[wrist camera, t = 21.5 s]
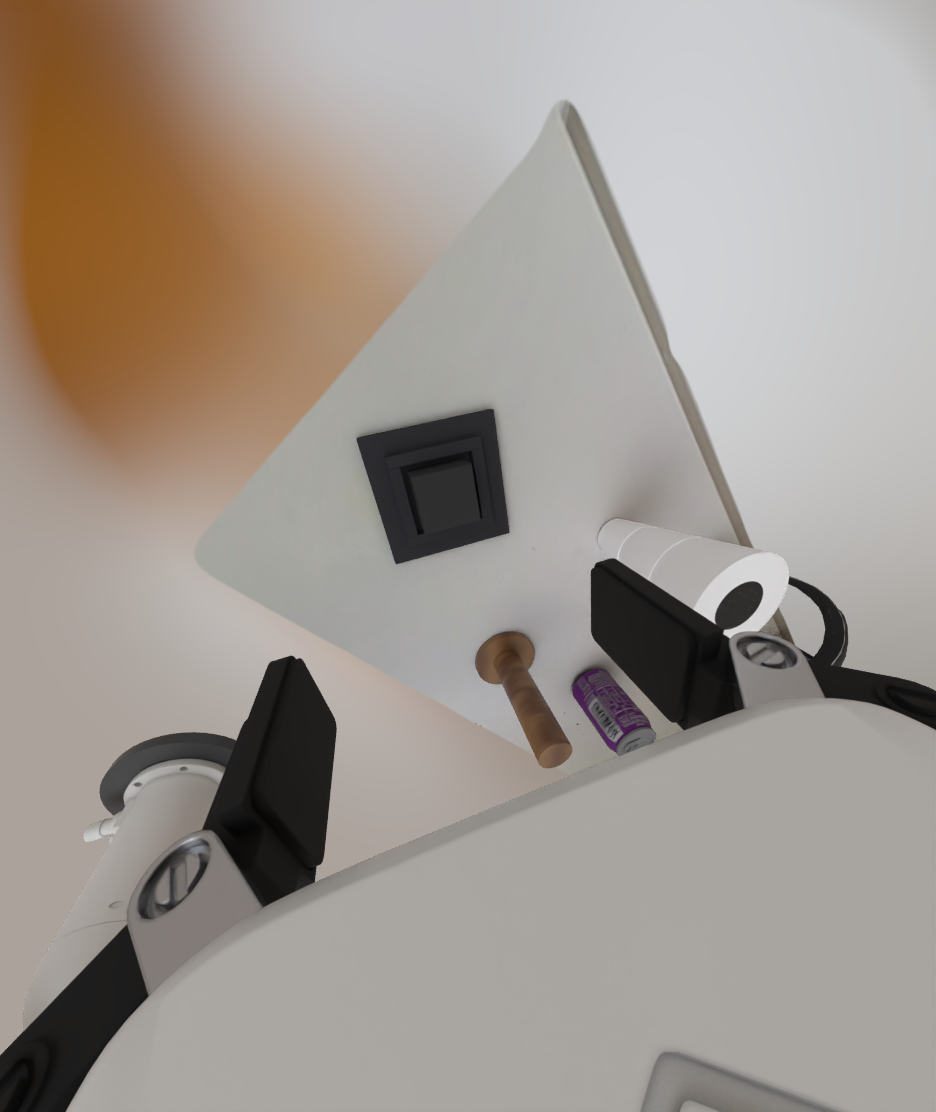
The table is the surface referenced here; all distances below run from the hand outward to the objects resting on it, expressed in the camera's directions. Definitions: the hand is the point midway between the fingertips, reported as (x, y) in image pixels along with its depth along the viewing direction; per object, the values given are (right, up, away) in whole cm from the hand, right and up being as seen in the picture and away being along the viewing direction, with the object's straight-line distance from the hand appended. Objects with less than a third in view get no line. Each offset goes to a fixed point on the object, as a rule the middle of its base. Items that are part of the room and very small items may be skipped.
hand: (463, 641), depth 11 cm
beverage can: (+21, -19, +48) cm, 55 cm away
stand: (+6, -12, +40) cm, 42 cm away
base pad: (-3, +10, +27) cm, 29 cm away
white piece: (+20, +6, +36) cm, 41 cm away
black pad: (-3, +10, +26) cm, 28 cm away
